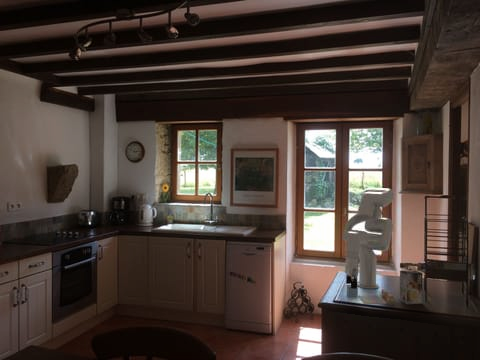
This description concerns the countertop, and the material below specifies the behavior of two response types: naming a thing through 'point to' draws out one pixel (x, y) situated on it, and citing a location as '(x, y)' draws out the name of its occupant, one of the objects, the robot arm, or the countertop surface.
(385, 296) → the rail
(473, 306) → the countertop surface
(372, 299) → the mat
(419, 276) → the coffee box
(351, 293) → the block
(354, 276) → the robot arm
